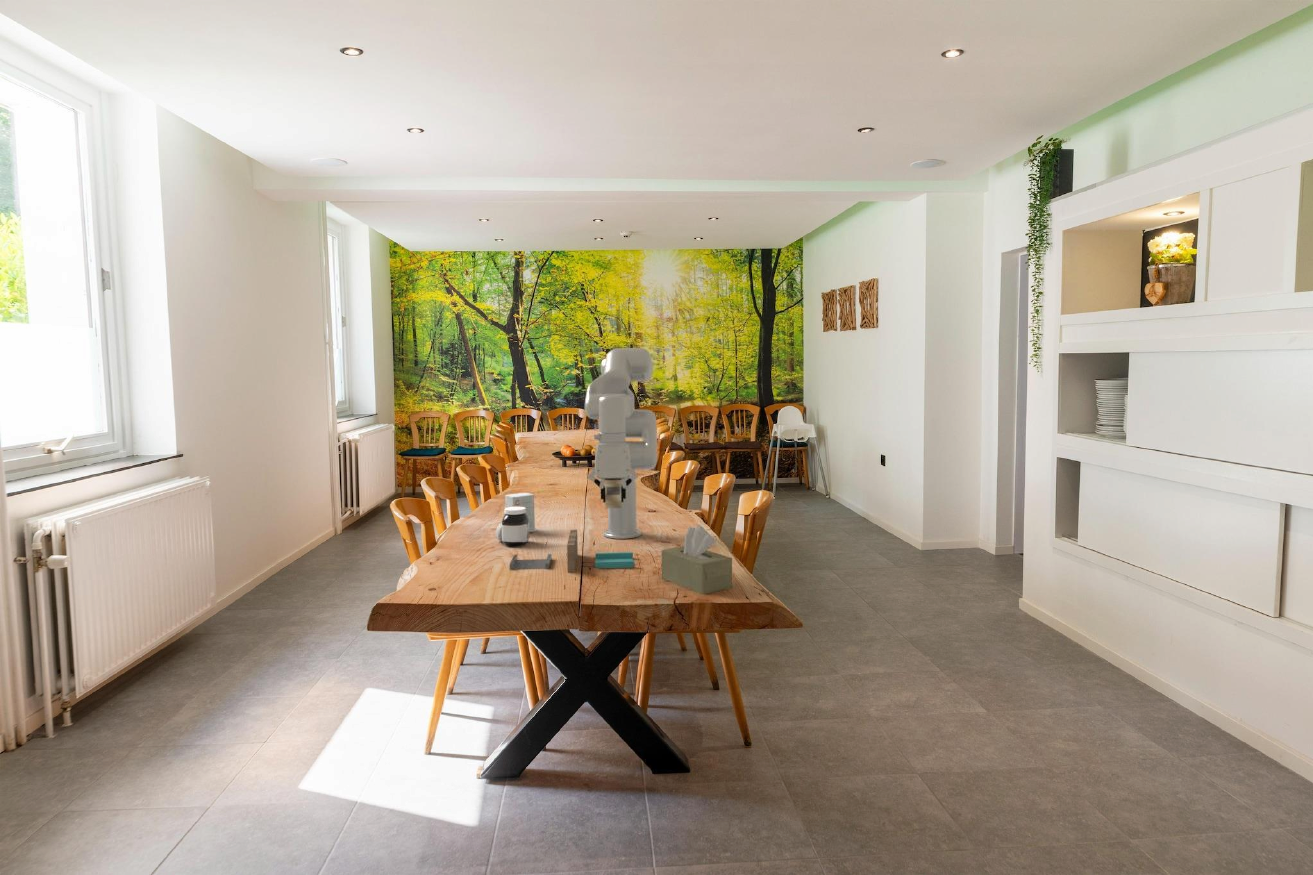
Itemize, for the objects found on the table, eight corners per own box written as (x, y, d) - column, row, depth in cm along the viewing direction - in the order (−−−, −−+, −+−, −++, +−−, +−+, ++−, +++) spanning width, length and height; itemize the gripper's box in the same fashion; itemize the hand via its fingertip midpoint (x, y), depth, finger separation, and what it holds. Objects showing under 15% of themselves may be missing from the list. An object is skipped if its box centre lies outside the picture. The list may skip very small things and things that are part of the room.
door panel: (571, 555, 246) (570, 529, 245) (577, 555, 246) (577, 529, 245) (567, 573, 226) (567, 545, 225) (574, 573, 226) (574, 544, 225)
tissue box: (733, 588, 210) (733, 528, 209) (703, 595, 205) (703, 533, 203) (689, 573, 226) (689, 516, 224) (660, 578, 220) (660, 521, 219)
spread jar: (522, 548, 257) (521, 511, 256) (488, 547, 259) (487, 510, 258) (534, 539, 269) (533, 504, 267) (501, 538, 270) (500, 504, 269)
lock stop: (605, 508, 231) (605, 480, 230) (605, 504, 238) (605, 477, 237) (621, 508, 231) (621, 480, 231) (621, 504, 238) (620, 477, 237)
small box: (526, 528, 285) (525, 492, 284) (535, 531, 280) (534, 494, 279) (505, 531, 281) (504, 494, 279) (514, 535, 276) (513, 497, 274)
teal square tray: (595, 568, 231) (594, 562, 231) (595, 558, 242) (595, 552, 242) (633, 567, 231) (633, 561, 231) (632, 558, 242) (632, 552, 242)
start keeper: (514, 560, 240) (514, 554, 240) (551, 559, 241) (551, 554, 241) (509, 570, 230) (509, 564, 229) (548, 569, 230) (548, 563, 230)
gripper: (582, 440, 229) (583, 504, 230) (642, 439, 230) (643, 503, 231) (583, 437, 236) (584, 500, 238) (641, 437, 237) (642, 498, 239)
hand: (613, 501), depth 235 cm, fingers closed on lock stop, 4 cm apart
